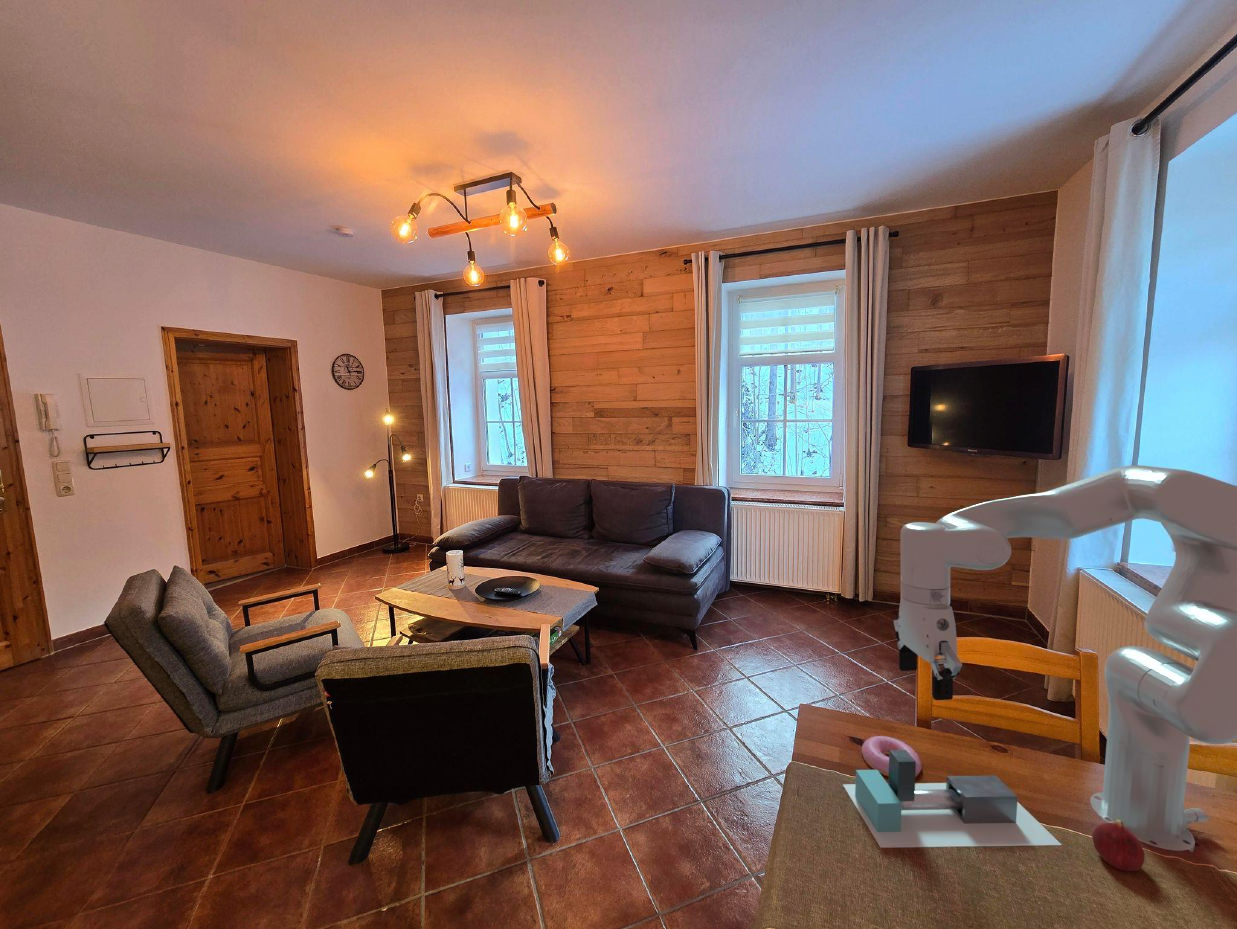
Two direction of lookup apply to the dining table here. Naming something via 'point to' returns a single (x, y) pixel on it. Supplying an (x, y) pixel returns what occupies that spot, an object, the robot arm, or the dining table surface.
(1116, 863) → the onion
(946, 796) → the silver bolt with handle
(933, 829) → the base board
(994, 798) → the sleeve
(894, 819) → the socket
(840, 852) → the dining table surface
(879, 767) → the doughnut
